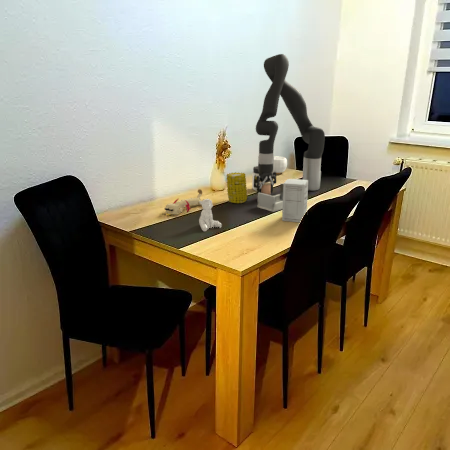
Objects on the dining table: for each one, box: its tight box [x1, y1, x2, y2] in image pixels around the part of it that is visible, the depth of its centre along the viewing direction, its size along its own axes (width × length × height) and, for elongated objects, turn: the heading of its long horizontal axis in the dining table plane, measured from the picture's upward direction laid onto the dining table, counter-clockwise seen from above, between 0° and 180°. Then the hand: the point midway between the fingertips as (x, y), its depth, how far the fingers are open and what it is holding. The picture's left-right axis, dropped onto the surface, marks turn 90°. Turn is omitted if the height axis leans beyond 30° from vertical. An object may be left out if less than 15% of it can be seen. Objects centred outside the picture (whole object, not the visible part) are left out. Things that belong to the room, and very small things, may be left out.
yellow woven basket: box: [226, 172, 248, 205], centre depth 222 cm, size 15×12×10 cm
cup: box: [273, 155, 288, 175], centre depth 283 cm, size 12×12×10 cm
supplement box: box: [281, 178, 309, 223], centre depth 196 cm, size 10×9×17 cm
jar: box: [251, 165, 260, 192], centre depth 245 cm, size 9×8×12 cm
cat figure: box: [164, 188, 204, 216], centre depth 210 cm, size 10×9×25 cm
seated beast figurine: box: [198, 198, 223, 232], centre depth 186 cm, size 10×9×12 cm
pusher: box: [279, 183, 284, 201], centre depth 220 cm, size 1×7×8 cm, turn 43°
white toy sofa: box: [256, 192, 283, 213], centre depth 216 cm, size 17×10×7 cm, turn 133°
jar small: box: [260, 181, 272, 196], centre depth 227 cm, size 6×6×9 cm
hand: (264, 194), depth 227 cm, fingers open, 8 cm apart
